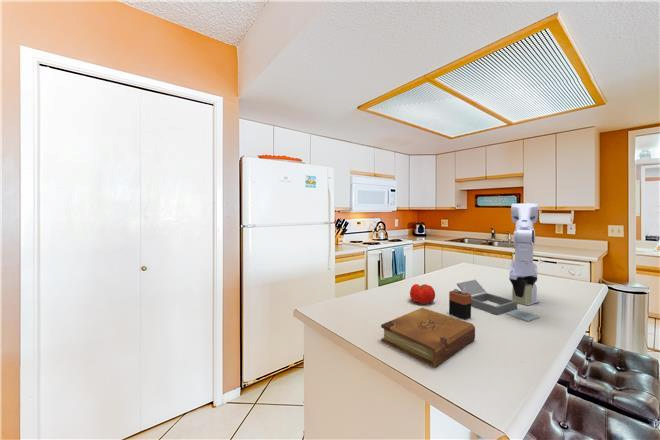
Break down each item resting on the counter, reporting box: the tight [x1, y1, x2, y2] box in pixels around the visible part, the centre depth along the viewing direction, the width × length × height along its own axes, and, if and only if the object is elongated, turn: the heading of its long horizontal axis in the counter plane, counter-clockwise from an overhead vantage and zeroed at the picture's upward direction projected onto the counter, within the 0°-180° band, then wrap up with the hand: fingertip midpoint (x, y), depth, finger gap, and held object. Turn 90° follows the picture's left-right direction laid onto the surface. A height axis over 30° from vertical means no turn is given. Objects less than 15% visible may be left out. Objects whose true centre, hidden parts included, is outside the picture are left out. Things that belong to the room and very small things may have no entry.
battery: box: [448, 288, 472, 320], centre depth 102 cm, size 4×7×10 cm, turn 28°
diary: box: [380, 307, 476, 368], centre depth 83 cm, size 23×19×6 cm
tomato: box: [409, 283, 436, 305], centre depth 118 cm, size 11×11×8 cm
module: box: [511, 283, 532, 306], centre depth 102 cm, size 4×4×8 cm
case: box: [456, 279, 518, 316], centre depth 114 cm, size 14×18×8 cm
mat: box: [505, 308, 541, 322], centre depth 102 cm, size 8×8×1 cm
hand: (522, 295), depth 101 cm, fingers closed on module, 4 cm apart
